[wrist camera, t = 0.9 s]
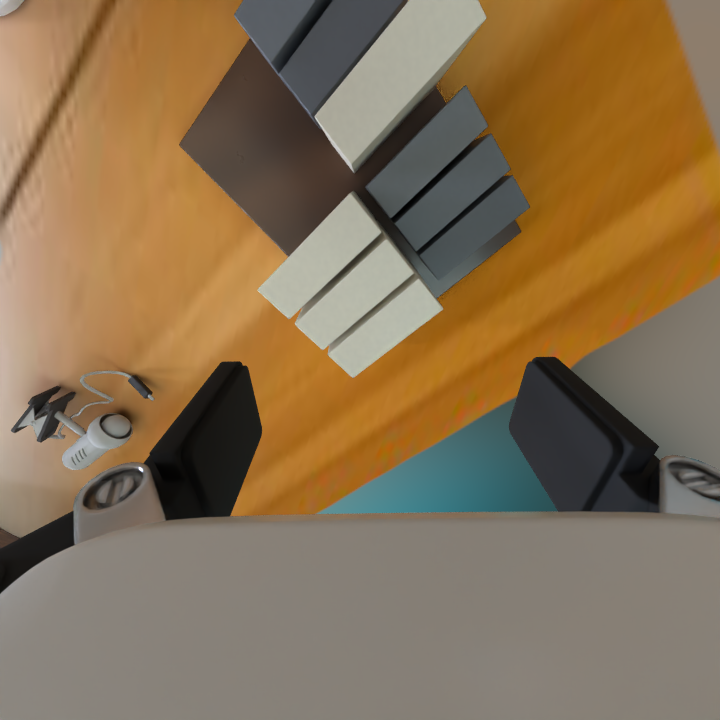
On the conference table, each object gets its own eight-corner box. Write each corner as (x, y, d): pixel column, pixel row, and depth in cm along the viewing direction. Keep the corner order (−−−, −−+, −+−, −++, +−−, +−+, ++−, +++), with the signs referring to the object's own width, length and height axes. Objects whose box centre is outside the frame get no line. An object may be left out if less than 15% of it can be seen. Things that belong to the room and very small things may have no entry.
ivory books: (292, 254, 33) (256, 290, 21) (353, 190, 30) (350, 192, 18) (354, 319, 36) (352, 378, 25) (415, 267, 33) (443, 309, 22)
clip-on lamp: (115, 337, 42) (27, 413, 44) (81, 349, 36) (-20, 437, 38) (181, 395, 46) (97, 464, 48) (160, 415, 40) (65, 493, 42)
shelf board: (186, 146, 29) (178, 144, 28) (335, -73, 22) (333, -89, 21) (375, 341, 39) (376, 346, 38) (515, 230, 33) (522, 231, 32)
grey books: (264, 57, 25) (233, 14, 19) (343, -57, 22) (337, -151, 16) (425, 265, 33) (440, 282, 27) (498, 203, 30) (533, 207, 24)
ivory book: (332, 145, 28) (313, 116, 17) (410, 55, 25) (452, -54, 14) (354, 173, 29) (351, 164, 18) (431, 91, 26) (487, 17, 15)
